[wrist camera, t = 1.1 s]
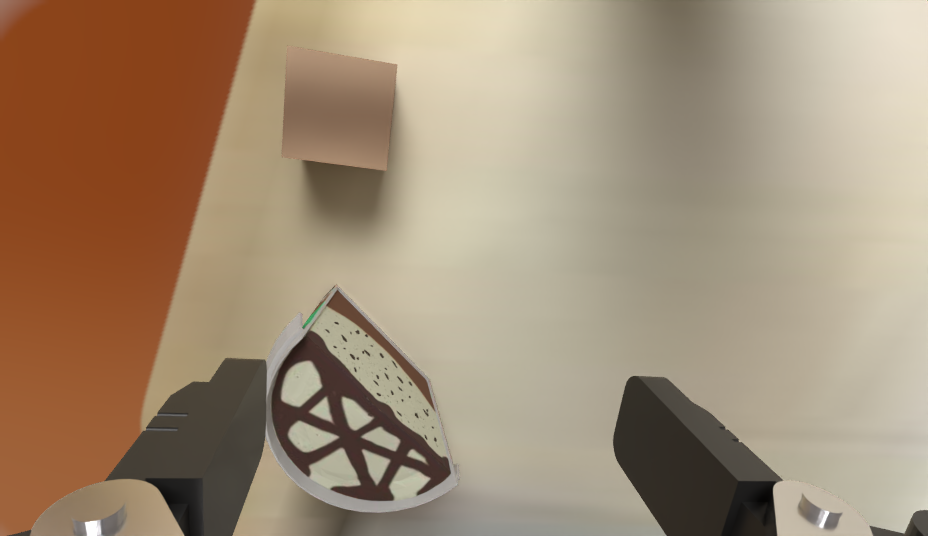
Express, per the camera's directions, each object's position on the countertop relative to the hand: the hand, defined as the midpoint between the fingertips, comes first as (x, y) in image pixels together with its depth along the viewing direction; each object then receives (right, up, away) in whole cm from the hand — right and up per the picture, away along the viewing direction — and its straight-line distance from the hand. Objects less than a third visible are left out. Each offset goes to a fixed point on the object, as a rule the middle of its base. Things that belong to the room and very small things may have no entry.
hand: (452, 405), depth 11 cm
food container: (-8, -3, +23) cm, 24 cm away
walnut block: (-7, +12, +19) cm, 23 cm away
